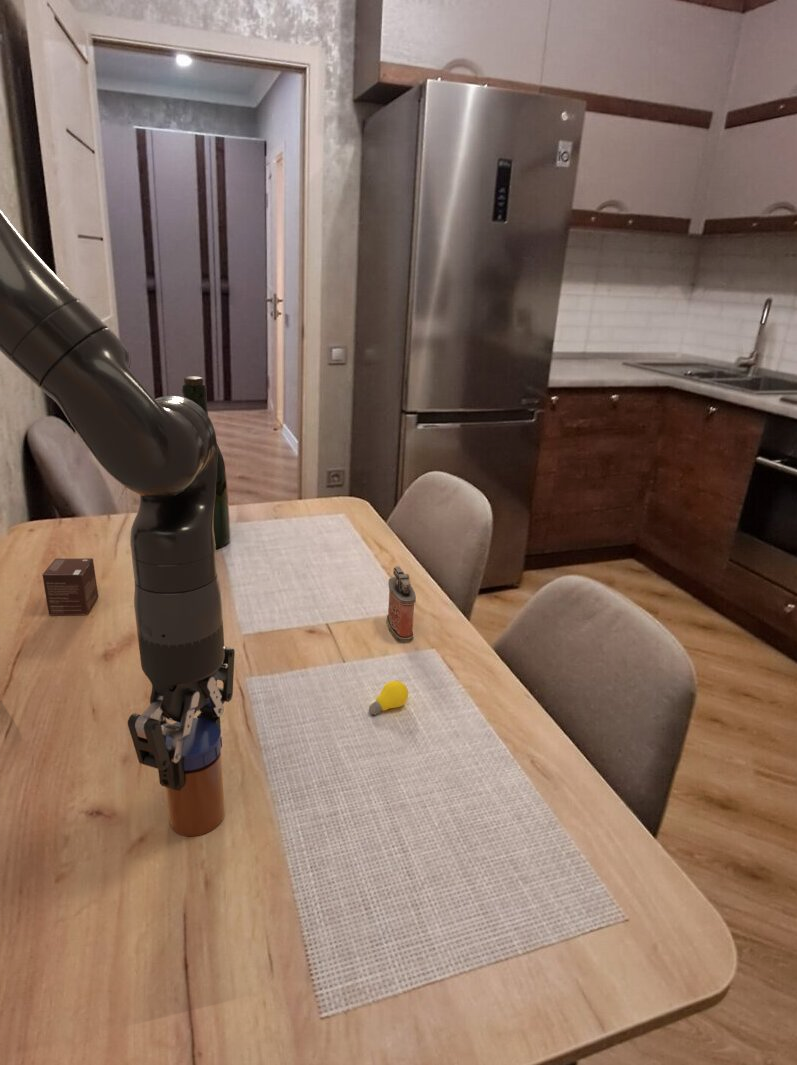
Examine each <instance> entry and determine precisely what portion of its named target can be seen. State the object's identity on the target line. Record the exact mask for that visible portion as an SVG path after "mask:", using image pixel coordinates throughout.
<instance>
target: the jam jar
mask: <svg viewBox="0 0 797 1065" xmlns="http://www.w3.org/2000/svg"><path fill="white" fill-rule="evenodd" d="M223 776H224V775H223V761H222V750H221V751H220V753H219V755H218V757H217V758H216V759H215V760H214V761H213V762H211V763H210V764H208V765H206V766H204V767H202V768H199V769H195V770H190V771H184V777H185V785H184V786H183V787H182V789H181V790H180V791H177V790H173V789H170V788H167V787H165V795H166V802H167V812H168V820H169V826H170V827H171V829H172V830H173V831H174V832H175V833H177V834H179V835H182V836H185V837H197V836H198V837H199V836H203V835H205V834H207V833H210V832H212V831H213V830H215V829H216V828H217V827H218V826H219V825H220V824H221V823H222V822H223V820H224V817H225V814H226V806H225V790H224V777H223Z"/></svg>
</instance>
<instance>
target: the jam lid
mask: <svg viewBox="0 0 797 1065" xmlns="http://www.w3.org/2000/svg"><path fill="white" fill-rule="evenodd" d="M171 724H172V725H176V726H179V727H180V724H181V722H176V721H175V722H173V723H171ZM221 735H222V733H221V734H220V729H219V727H218V725H217V724H216V723H214V722H213V721H211V720H208V719H204V718H197V717H193V722H192V727H191V733H190V735H189V736H188V737H186V738H185V740H184V745H183V750H182V756H181V757H183V766H184V771H190V770H195V769H199V768H202V767H204V766H206V765H208V764H210V763H211V762H213V761H214V760H215V759H216V758H217V757H218V755H219V753H220V751H221V752H222V748H223V739H222V736H221ZM165 744H166V746H168V747H172V744H173V739H172V737H169V736H166V742H165Z"/></svg>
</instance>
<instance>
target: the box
mask: <svg viewBox="0 0 797 1065" xmlns="http://www.w3.org/2000/svg"><path fill="white" fill-rule="evenodd" d="M42 580H43V587H44V588H43V589H44V592H45V593H44V594H45V599H46V605H47V613H48V615H49V616H65V615H66V616H72V615H73V616H77V615H78V616H79V615H80V616H87V615H88V614H90V611H91V610H92V608H93V606H94V604H96V602H97V600H98V598H99V593H98V585H97V578H96V570H95V563H94V558H90V557H89V558H87V557H85V558H54V560H53V561H52V562H51V563H50V565H49V566H48V567H47V568H46V570H44V572H43V573H42Z"/></svg>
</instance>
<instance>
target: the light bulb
mask: <svg viewBox="0 0 797 1065" xmlns="http://www.w3.org/2000/svg"><path fill="white" fill-rule="evenodd" d="M408 698H409V690H408V688H407V686H406V684H404V683H403V682H402V681H400V680H390V681H388V682H386V683H385V684H384V685H383V686H382V689H381V691H380V693H379V694H378V696H377V697H376V698H375V701H374V702H372V704H370V705H369V706H368V713H369V714H370V715H375V716H376V715H377V714H379V713H380V712H382V711H387V710H389V709H396V708H400V707H402V706H404V705H405V704H406V703H407V700H408Z"/></svg>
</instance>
